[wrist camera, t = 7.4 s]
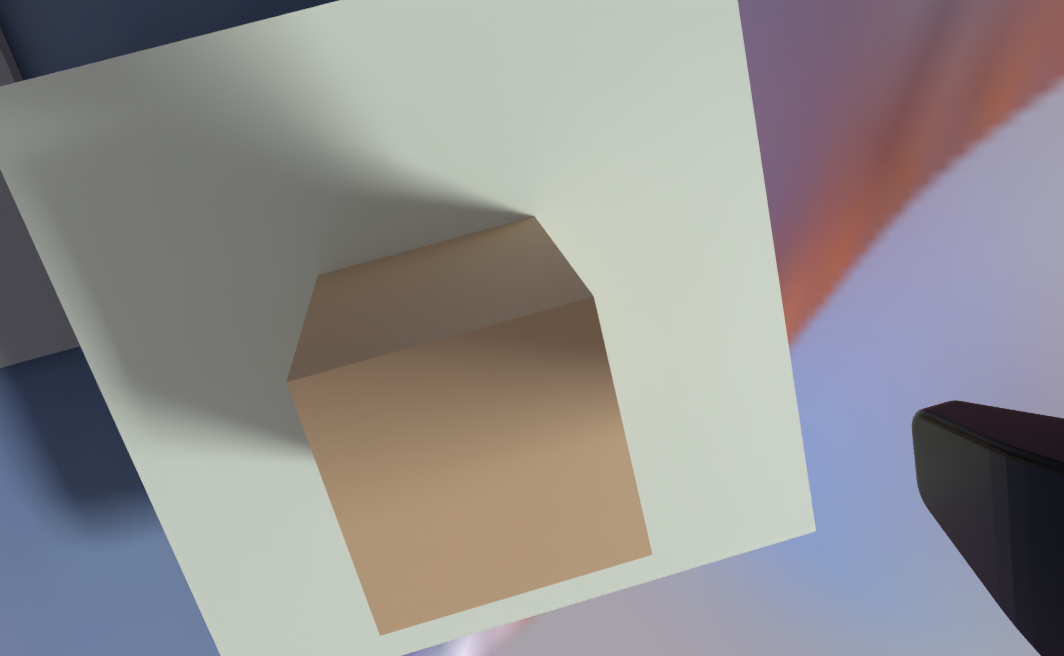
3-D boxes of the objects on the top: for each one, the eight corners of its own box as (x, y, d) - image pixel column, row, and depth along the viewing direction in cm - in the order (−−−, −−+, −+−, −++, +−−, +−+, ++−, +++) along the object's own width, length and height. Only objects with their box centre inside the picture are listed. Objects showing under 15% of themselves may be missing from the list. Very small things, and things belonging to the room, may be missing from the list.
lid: (705, -91, 14) (876, -153, 9) (797, 509, 18) (953, 696, 13) (-9, 91, 13) (-249, 131, 8) (248, 673, 17) (190, 936, 12)
